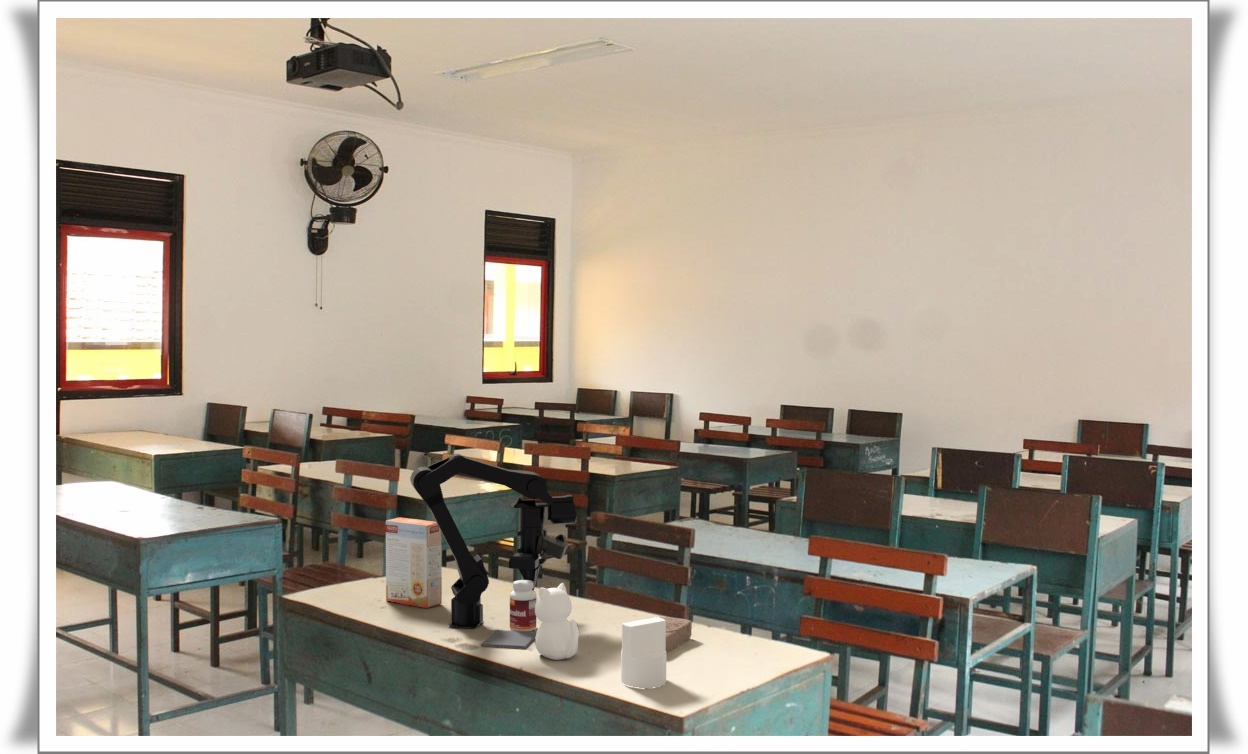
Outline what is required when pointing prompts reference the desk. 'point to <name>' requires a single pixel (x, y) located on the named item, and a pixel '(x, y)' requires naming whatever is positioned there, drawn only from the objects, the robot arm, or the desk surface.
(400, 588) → the cracker box
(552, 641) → the cat figurine
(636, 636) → the base with upright slab
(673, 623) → the brick
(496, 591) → the desk surface
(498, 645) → the mat
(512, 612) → the pill bottle
